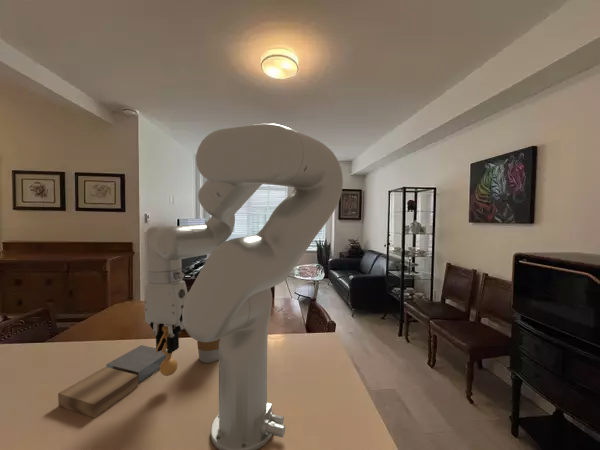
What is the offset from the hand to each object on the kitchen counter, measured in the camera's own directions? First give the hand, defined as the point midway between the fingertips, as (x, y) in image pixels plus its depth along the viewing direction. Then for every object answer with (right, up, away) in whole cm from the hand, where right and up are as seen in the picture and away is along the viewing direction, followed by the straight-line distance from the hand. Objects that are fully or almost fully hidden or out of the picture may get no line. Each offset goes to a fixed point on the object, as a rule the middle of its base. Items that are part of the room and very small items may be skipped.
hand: (167, 349), depth 70 cm
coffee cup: (+6, -9, +15) cm, 18 cm away
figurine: (+2, -6, 0) cm, 6 cm away
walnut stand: (-15, -10, -3) cm, 18 cm away
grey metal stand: (-12, -9, +9) cm, 17 cm away
